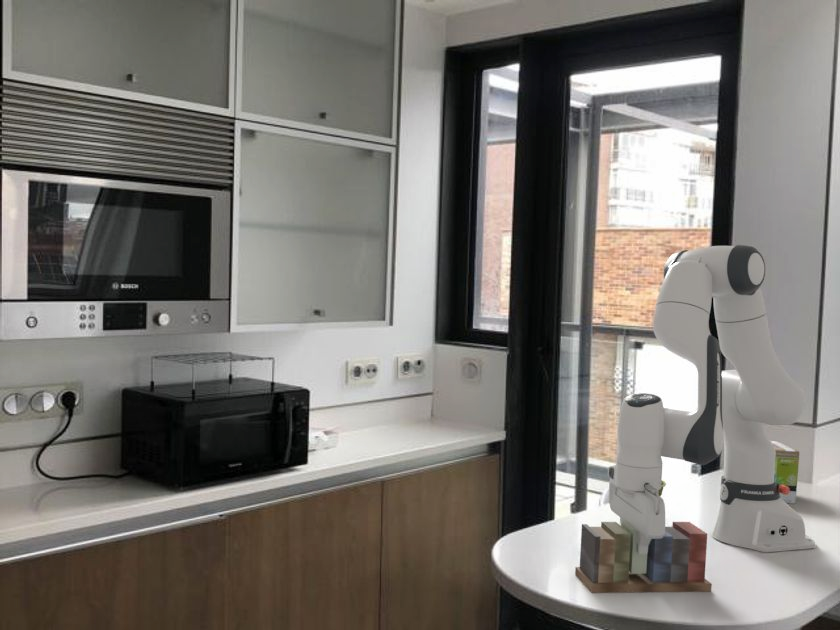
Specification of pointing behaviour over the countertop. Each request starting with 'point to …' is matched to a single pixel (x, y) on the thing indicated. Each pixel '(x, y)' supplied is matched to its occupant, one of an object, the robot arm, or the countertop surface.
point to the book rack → (666, 560)
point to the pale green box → (635, 552)
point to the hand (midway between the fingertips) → (634, 547)
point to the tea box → (786, 469)
